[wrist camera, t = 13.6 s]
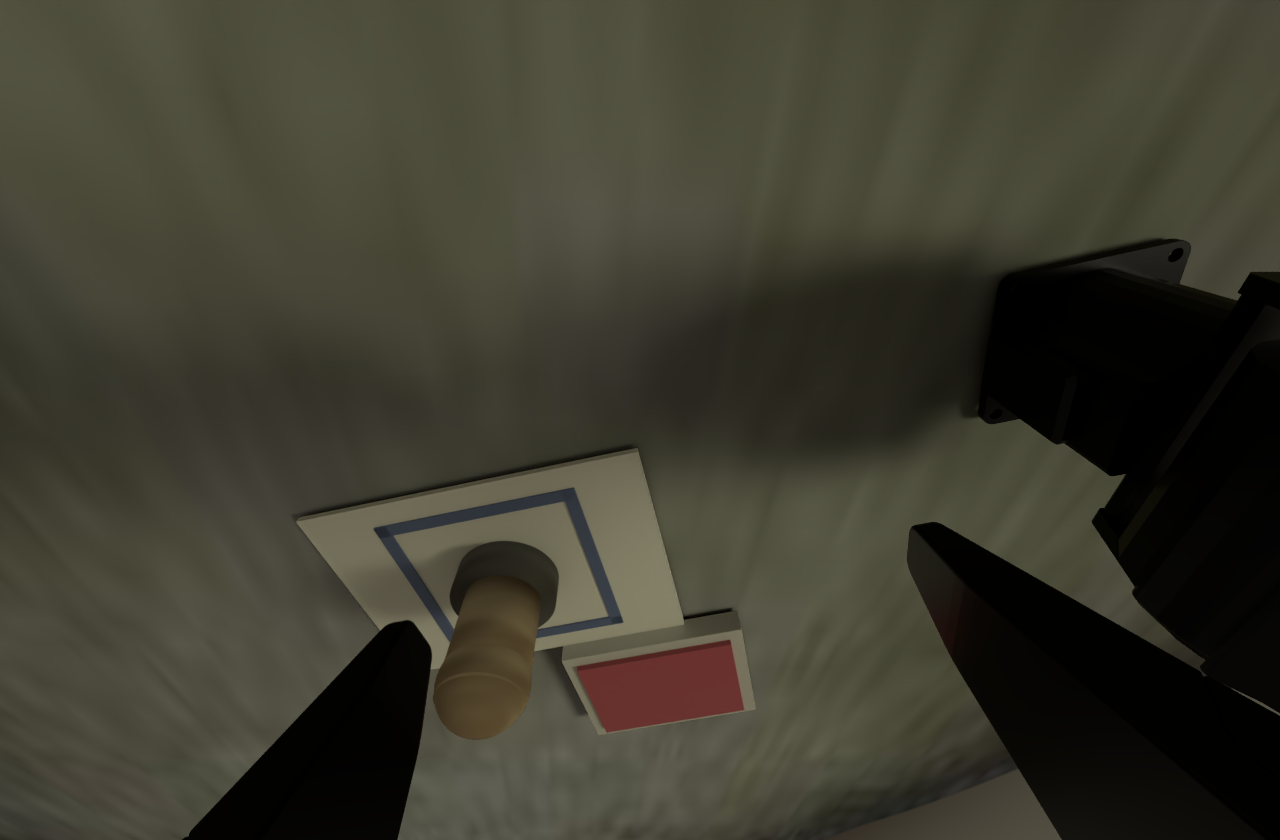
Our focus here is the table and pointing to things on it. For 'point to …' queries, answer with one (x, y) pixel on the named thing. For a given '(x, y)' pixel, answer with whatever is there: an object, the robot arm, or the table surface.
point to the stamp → (494, 637)
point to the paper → (521, 512)
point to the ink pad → (663, 674)
